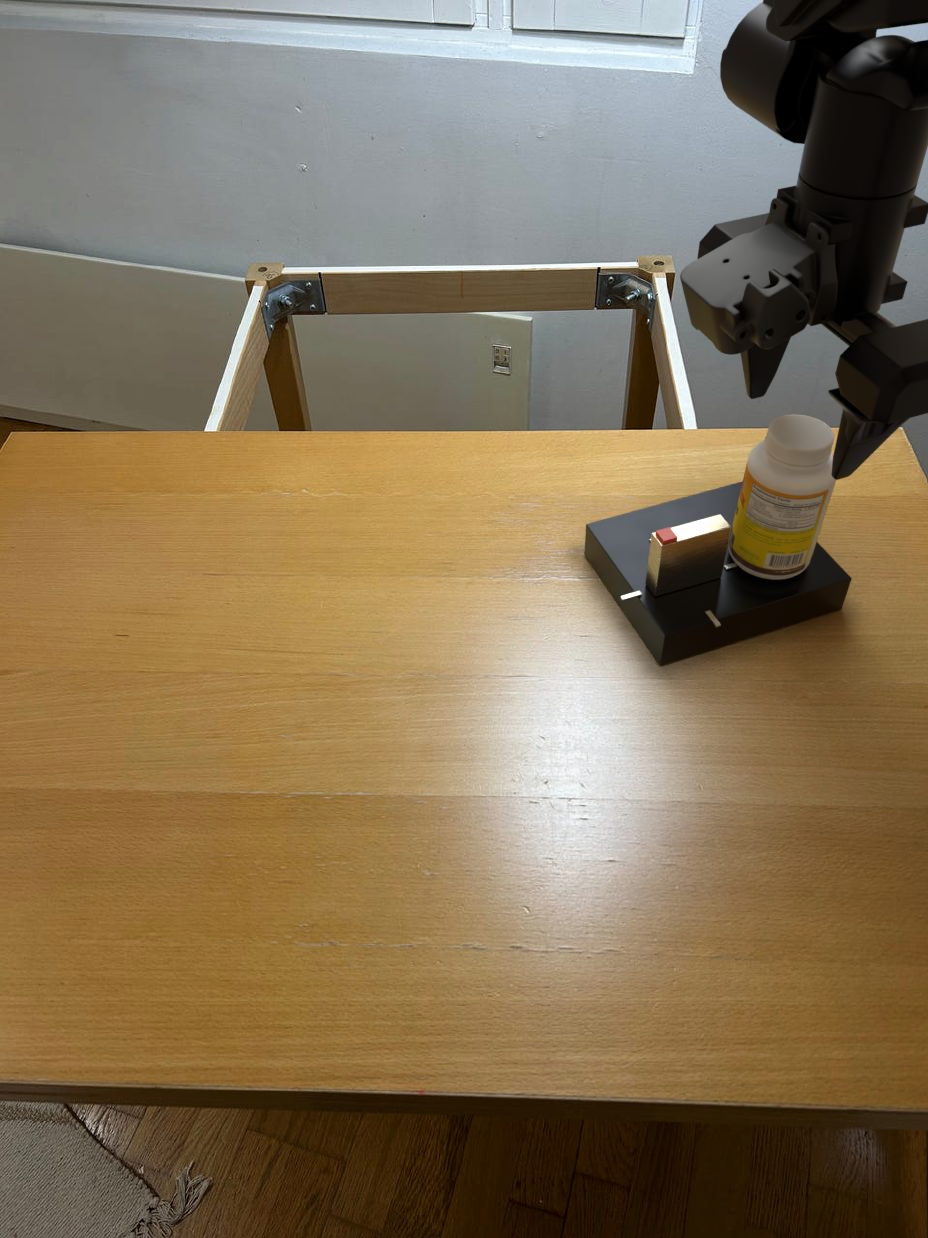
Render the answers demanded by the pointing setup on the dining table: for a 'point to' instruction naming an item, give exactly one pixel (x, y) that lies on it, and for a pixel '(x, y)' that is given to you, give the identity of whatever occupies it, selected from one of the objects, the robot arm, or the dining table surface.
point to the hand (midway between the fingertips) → (795, 434)
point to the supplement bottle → (783, 498)
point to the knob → (687, 555)
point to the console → (712, 606)
